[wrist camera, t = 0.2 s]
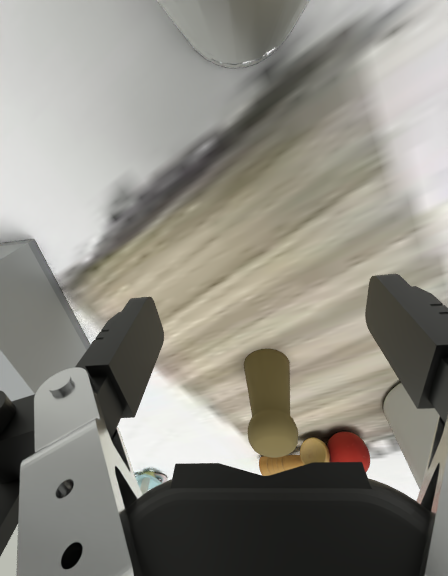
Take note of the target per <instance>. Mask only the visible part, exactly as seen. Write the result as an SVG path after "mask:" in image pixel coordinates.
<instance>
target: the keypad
mask: <svg viewBox="0 0 448 576" xmlns="http://www.w3.org/2000/svg"><path fill="white" fill-rule="evenodd" d="M89 347H90V343H89V342H88V340H87V338H86V336H85V334H84V332H83V330H82V328H81V326H80V325H79V323H78V321H77V319H76V317H75V315H74V313H73V311H72V310H71V308H70V306H69V304H68V302H67V300H66V298H65V296H64V295H63V293H62V291H61V289H60V287H59V285H58V283H57V281H56V279H55V278H54V276H53V274H52V272H51V270H50V268H49V266H48V264H47V263H46V261H45V259H44V257H43V255H42V253H41V251H40V249H39V248H38V246H37V244H36V242H35V240H34V239H33V240H24V241H15V242H6V243H0V391H3V392H4V393H5V394H6V395H7V397H8V398H9V399H10V400H11V401H14V400H18V399H21V398H24V397H27V396H31V395H34V394H36V392H37V390H38V389H39V387H40V386H41V385H42V384H43V383H44V382H45V381H46V380H48V379H49V378H50V377H52V376H53V375H55V374H57V373H59V372H61V371H63V370H66V369H69V368H75V366H76V365H77V363H78V362H79V361H80V359H81V358H82V356H83V355H84V354H85V352H86V351H87V349H88V348H89Z"/></svg>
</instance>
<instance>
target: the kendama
mask: <svg viewBox="0 0 448 576" xmlns="http://www.w3.org/2000/svg"><path fill="white" fill-rule="evenodd" d="M326 442H328V444H327V446H326V444H325V443H326ZM326 442H325V443H324V442H323V441H321V440H320V439H318V438H313V437H312V438H308V439H306V440H305V441H304V442H303V443H302V445H301V447H300V455H286V456H283V457H278V458H271V457H266V456H262V457H261V458H260V460H259V468H260V472H261V474H262V475H263V476H269V475H273V474H276V473H279V472H283V471H286V470H289V469H293V468H296V467H299V466H303V465H306V464H309V463H313V462H362V463H363V466H364V469H365V472H367V470H368V468H369V466H370V455H369V451H368V449H367V447H366V445H365V443H364V441H363V440H362V439H361V438H360V437H359V436H358V435H356V434H354V433H351V432H338V433H336V434H334V435H333V436H332V437H331V438H330V439H329V440H328V441H326Z"/></svg>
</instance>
